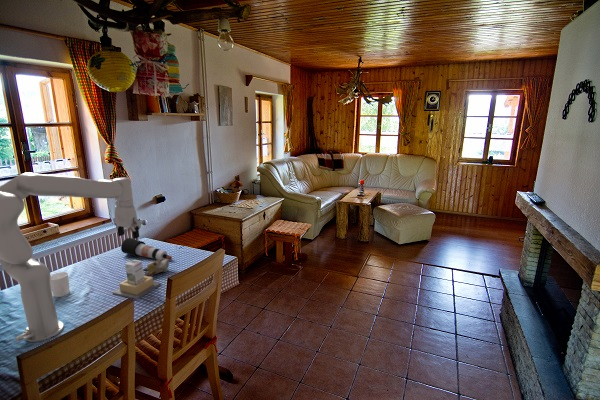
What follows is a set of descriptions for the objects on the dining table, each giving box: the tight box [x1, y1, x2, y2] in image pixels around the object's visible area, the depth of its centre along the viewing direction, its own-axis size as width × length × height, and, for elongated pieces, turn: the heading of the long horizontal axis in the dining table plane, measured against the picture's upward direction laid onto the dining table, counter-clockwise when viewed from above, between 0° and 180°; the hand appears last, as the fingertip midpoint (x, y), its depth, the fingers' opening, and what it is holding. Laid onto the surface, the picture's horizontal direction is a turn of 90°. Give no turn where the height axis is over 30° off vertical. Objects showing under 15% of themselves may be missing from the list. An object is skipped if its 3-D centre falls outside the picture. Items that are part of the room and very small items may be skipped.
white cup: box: [50, 271, 71, 298], centre depth 162 cm, size 8×8×10 cm
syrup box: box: [124, 259, 145, 285], centre depth 166 cm, size 6×6×14 cm
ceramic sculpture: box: [143, 259, 170, 277], centre depth 184 cm, size 11×9×15 cm
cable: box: [120, 237, 173, 261], centre depth 204 cm, size 10×34×10 cm, turn 72°
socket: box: [111, 276, 162, 301], centre depth 167 cm, size 16×16×5 cm
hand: (128, 236), depth 160 cm, fingers open, 9 cm apart
